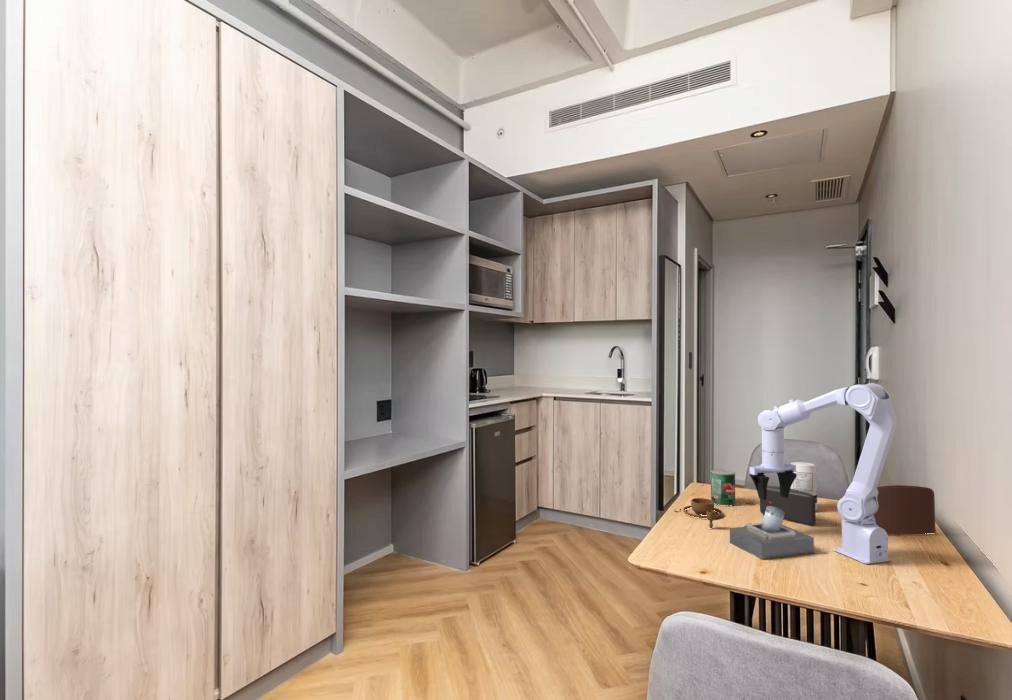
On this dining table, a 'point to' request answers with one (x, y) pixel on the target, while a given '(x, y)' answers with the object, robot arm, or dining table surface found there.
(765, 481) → the robot arm
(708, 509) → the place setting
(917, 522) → the letter holder
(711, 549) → the dining table surface
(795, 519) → the dark grey slab
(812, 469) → the supplement can
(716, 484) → the canned tomato
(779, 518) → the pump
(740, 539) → the grey square pedestal
